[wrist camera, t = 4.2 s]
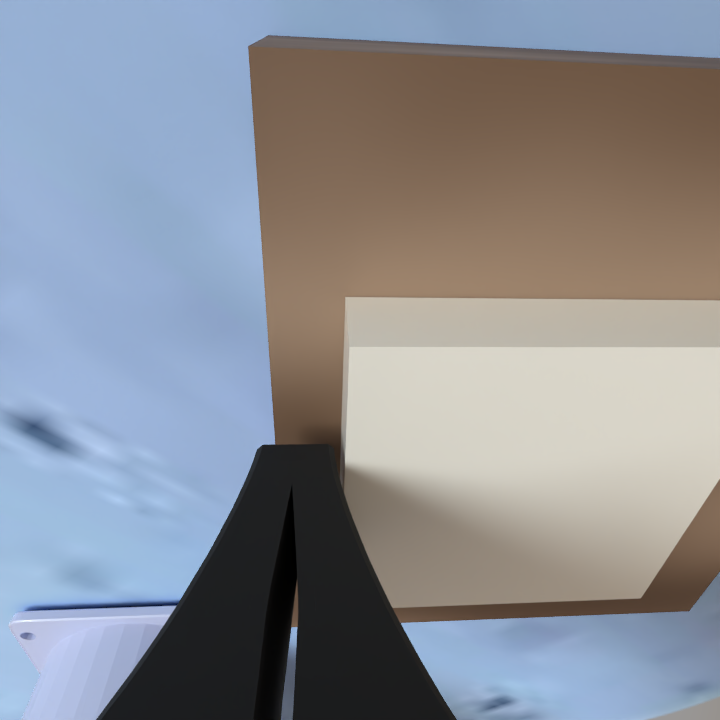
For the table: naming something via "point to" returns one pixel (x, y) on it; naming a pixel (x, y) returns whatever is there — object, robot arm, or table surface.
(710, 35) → the table surface
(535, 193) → the board
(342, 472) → the coaster
